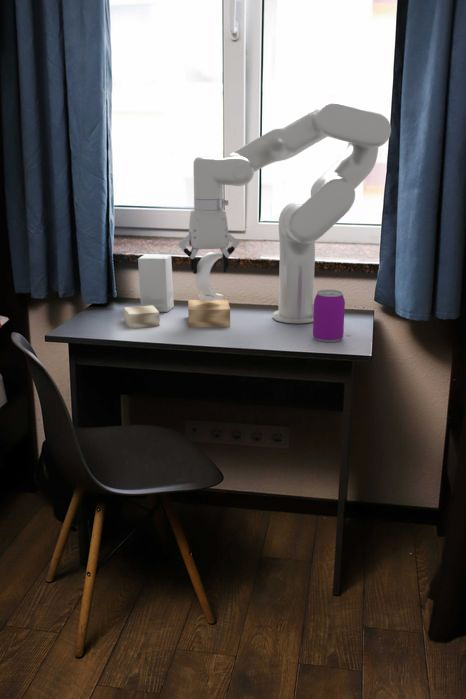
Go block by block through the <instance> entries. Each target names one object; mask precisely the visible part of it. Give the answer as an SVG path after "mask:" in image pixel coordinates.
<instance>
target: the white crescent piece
mask: <svg viewBox="0 0 466 699" xmlns="http://www.w3.org/2000/svg"><path fill="white" fill-rule="evenodd" d="M222 257H223V253H219V252H212V251H211V252H210V251H209V252H207V253H206V254H204V255H203V256H202V257H201V258H200V259H199V261H198V262H197V273H196V274H194V280H195V284H196V288H197V289H198V291H199V292H200V293H201V294H199V295H197V296H198V299H197V300H207V301H213V300H222V299H224V295H223V294H220V293H215V292H214V291H213V289H212V288H211V284H210V275H211V274H210V273H211V270H212V268H213V266H214V265H215V263H216V262H217V261H218V260H219V259H221V258H222Z"/></svg>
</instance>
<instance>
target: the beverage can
mask: <svg viewBox="0 0 466 699" xmlns="http://www.w3.org/2000/svg"><path fill="white" fill-rule="evenodd" d="M313 301H314V314H313V322H312V336H313V337H314V339H315V340H316V341H318V342H321V343H337V342H339V341H341V340H342V339H343V338H344V333H345V332H344V330H345V329H344V327H345V312H346V311H345V307H346V306H345V305H346V301H345V298H344V294H343V292H342V291H340V290H336V289H319V290H318V291H317V292H316V295H315V298H314V299H313Z"/></svg>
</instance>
